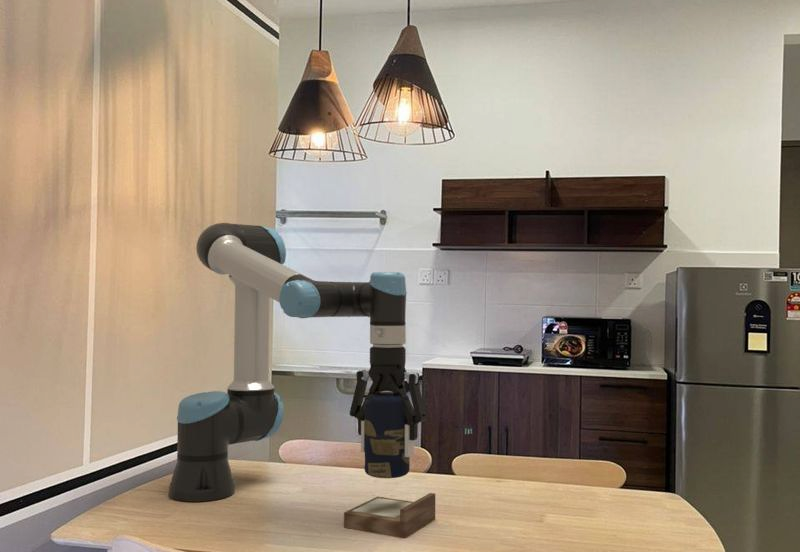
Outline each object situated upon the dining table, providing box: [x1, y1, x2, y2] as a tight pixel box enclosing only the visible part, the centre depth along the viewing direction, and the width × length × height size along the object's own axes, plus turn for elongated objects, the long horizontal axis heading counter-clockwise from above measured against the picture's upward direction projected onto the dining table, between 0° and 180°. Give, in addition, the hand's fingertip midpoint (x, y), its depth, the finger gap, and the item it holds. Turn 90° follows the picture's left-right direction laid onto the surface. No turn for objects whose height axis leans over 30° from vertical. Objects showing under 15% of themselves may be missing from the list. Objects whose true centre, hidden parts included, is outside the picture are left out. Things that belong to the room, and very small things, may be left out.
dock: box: [343, 492, 436, 539], centre depth 153 cm, size 14×14×5 cm
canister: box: [364, 390, 411, 479], centre depth 154 cm, size 10×10×18 cm
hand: (387, 453), depth 154 cm, fingers closed on canister, 10 cm apart
